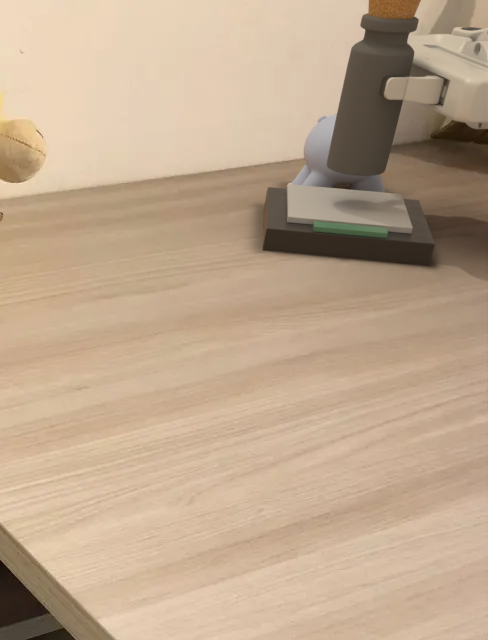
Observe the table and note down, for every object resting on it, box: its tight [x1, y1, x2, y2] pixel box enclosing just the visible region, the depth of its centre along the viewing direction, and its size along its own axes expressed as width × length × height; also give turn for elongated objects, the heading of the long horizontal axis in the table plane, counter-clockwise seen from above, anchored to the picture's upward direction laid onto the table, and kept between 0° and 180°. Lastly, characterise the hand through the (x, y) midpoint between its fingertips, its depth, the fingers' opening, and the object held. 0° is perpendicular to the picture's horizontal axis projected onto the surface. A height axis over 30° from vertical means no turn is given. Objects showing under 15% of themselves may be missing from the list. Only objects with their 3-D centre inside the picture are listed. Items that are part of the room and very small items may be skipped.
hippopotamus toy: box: [288, 113, 386, 193], centre depth 117 cm, size 11×15×10 cm
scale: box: [261, 183, 436, 267], centre depth 107 cm, size 16×15×3 cm
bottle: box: [327, 0, 422, 176], centre depth 100 cm, size 6×6×15 cm
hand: (367, 79), depth 99 cm, fingers closed on bottle, 6 cm apart
